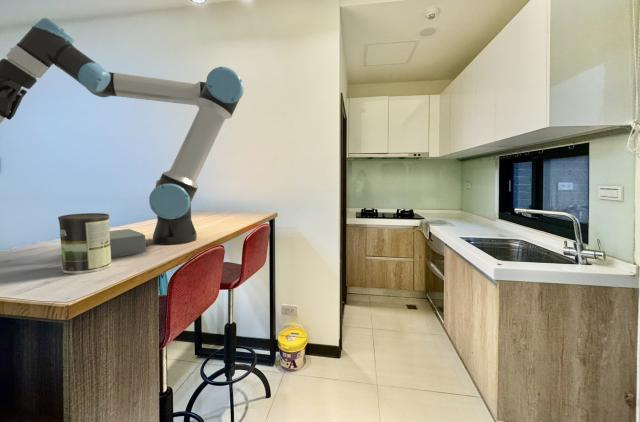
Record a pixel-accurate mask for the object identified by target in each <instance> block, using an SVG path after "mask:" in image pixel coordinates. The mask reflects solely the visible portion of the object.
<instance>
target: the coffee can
mask: <svg viewBox="0 0 640 422" xmlns="http://www.w3.org/2000/svg"><path fill="white" fill-rule="evenodd" d="M57 219H58V220H57V221H58V224H59V236H60V237H59V238H60V246H61V247H60V249H61V250H60V251H61V258H62V259H61V261H62V273H64V274H68V275H79V274H80V275H81V274H89V273H91V274H92V273H95V272H100V271H103V270H106V269H108V268H111V267H112V264H113V263H112V258H111V250H110V232H109V231H110V214H108V213H104V212H103V213H101V212H99V213H98V212H97V213H96V212H94V213H93V212H89V213H87V212H86V213H73V214H63V215H60V216H58V217H57Z"/></svg>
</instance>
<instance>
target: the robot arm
mask: <svg viewBox="0 0 640 422" xmlns="http://www.w3.org/2000/svg"><path fill="white" fill-rule="evenodd" d="M74 41H75V40H74V38H73V36H72V35H71V34H70V33H69V32H68V31H66V30H65V29H64V28H62V27H61V25H58V24H57V23H56V22H55V21H53V20H52V19H50V18H47V17H42V18H41V19H40V20H38V22H36V23H35V24H34V25H32V26H31V28H30V29H29V31H28V32H26V34H25V35H24V36H23V37H22V38H21V40H20V41H19V42H17V43H16V45H14V46H13V47H10V50H9V52H7V54H5V55H6V58H7V59H6V58H1V59H0V124H1V123H2V122H4V120H5V119H7V120H8V121H10V120H12V119H13V118H14V117H15V115H16V112H17V110H18V109H19V106H20V104H21V102H22V101H23V100H22V99H23V98H24V96H25V95H26V94H27V93H28V92H27V91H28V90H30V89H31V88H32V87H34V85H35V84H36V83H37V82H38V80H37V78H38V79H41V78H42V77H43V76H44V75H45V73H46V72H47V71H48V70H49V69H50V68H51V67H52V66H53V65H54V66H55V67H57V68H59V69H60V70H61V71H63V72H64V73H66V75H68V76H69V77H71V78H72V79H74V80H75V81H76V82H77V83H79V84H80V85H81V86H83V87H84V88H85V89H87V91H89V92H90V93H91V94H92V95H95V96H96V97H100V98H109V97H120V98H128V99H135V100H137V99H138V100H143V101H144V100H145V101H146V100H147V101H153V102H164V103H170V104H171V103H172V104H180V105H188V106H189V105H191V106H197V108H198V111H197V113H196V115H195V116H194V118H193V121H192V124H191V125H190V127H189V129H188V132H187V133H186V136H185V137H184V140H183V142H182V144H181V146H180V148H179V151H178V153H177V155H176V156H175V159H174V160H173V162H172V165H171V167H170V169H169V170H166V171H164V172H162V173H161V176H160V177H159V179H158V180H156V182H155V187H154V188H153V189H152V191H151V192H150V194H149V198H148V199H149V200H148V201H149V202H148V203H149V207H150V208H151V209H150V210H152V212H153V213H154V214H155V215H156V220H157V221H156V225H155V228H154V231H153V234H152V242H153V244H158V245H177V244H185V243H191V242H193V241H196V240H197V239H198V238H197V237H198V236H197V235H198V234H197V231H196V228H195V225H194V223H193V221H192V206H191V205H192V201H193V199H194V197H195V195H196V193H197V190H198V188H199V186H198V185H197V179H198V177H199V175H200V173H201V171H202V168H203V167H204V164H205V163H206V160H207V158H208V156H209V154H210V152H211V150H212V147H213V145H214V144H215V141H216V139H217V137H218V135H219V133H220V132H221V131H220V130H221V128H222V127H223V125H224V122H225V120H227V119H231V118H232V117H233V115H234V112H235V110H236V108H237V106H238V104H239V102H240V100H241V99H242V97H243V96H244V95H243V94H244V89H245V88H244V83H243V80H242V77H240V75H239V74H238V73H237V71H235V70H234V69H232V68H229V67H227V66H218V67H215V68H213V69H212V70H210V72H209V73H208V74H207V76H206V80H205V81H206V82H205V81H198V82H197V83H191V82H185V81H177V80H169V79H163V78H156V77H155V78H154V77H149V76H140V75H134V74H126V73H119V72H111V71H107V70H106V69H105V68H103V66H102V65H100V64H99V63H97V62H95V61H94V60H92V59H91V58H90V57H88V56H87V55H86V54H85V53H83V52H82V51H80V49H78V48H77V47H75V46H74V45H73V43H74ZM22 87H23V88H22ZM26 89H27V90H26Z"/></svg>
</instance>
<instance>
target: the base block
mask: <svg viewBox="0 0 640 422" xmlns="http://www.w3.org/2000/svg"><path fill="white" fill-rule="evenodd" d="M109 232H110V250H111V259H113V258H119V257H125V256H131V255H136V254H143V253H146V252H147V249H146V248H147V247H146V234H144V233H142V232H139V231H136V230H134V229H130V228H127V229H126V228H125V229H118V230H117V229H116V230H109Z"/></svg>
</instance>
